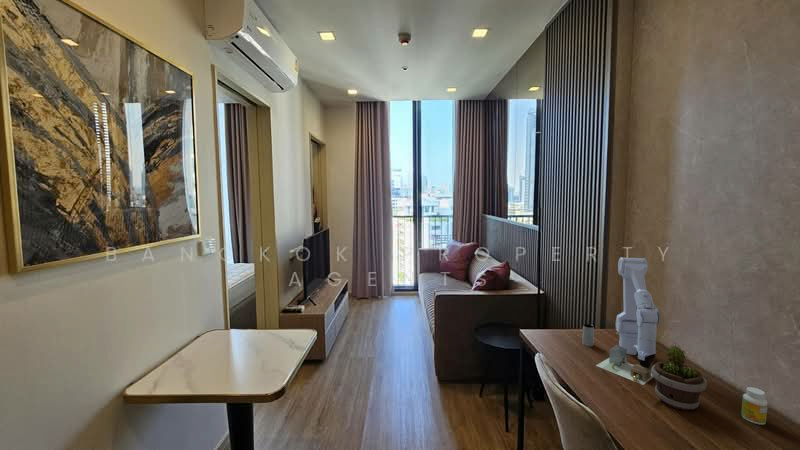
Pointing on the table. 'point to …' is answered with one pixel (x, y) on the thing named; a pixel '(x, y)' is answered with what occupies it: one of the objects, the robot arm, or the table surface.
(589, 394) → the table surface
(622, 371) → the base
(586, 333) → the grey cylinder
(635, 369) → the cover
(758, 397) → the supplement bottle
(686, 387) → the flowerpot
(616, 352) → the grey block
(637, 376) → the stubs
